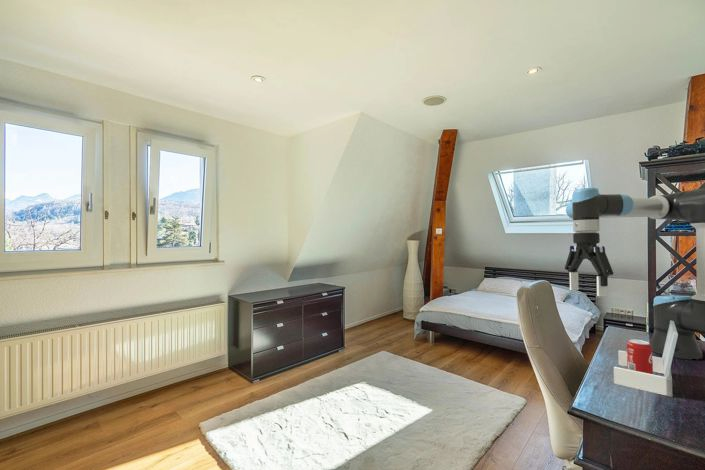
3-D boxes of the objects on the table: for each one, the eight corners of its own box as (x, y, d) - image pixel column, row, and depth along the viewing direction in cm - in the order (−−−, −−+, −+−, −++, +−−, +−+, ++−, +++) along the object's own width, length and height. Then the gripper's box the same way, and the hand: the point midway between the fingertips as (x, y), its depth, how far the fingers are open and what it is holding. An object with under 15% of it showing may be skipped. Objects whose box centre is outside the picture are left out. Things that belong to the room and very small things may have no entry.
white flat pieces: (669, 373, 109) (668, 358, 109) (672, 396, 93) (672, 379, 93) (618, 363, 118) (618, 350, 118) (613, 383, 102) (613, 367, 102)
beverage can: (658, 382, 102) (657, 345, 102) (635, 381, 103) (634, 343, 104) (644, 374, 108) (643, 339, 109) (623, 373, 110) (622, 338, 110)
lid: (662, 356, 110) (665, 357, 110) (664, 376, 94) (668, 377, 94) (670, 320, 109) (674, 321, 108) (674, 334, 93) (678, 335, 92)
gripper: (553, 233, 125) (554, 287, 125) (602, 231, 100) (603, 299, 100) (572, 233, 125) (574, 287, 125) (626, 231, 100) (628, 299, 100)
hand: (587, 292), depth 112 cm, fingers open, 13 cm apart
